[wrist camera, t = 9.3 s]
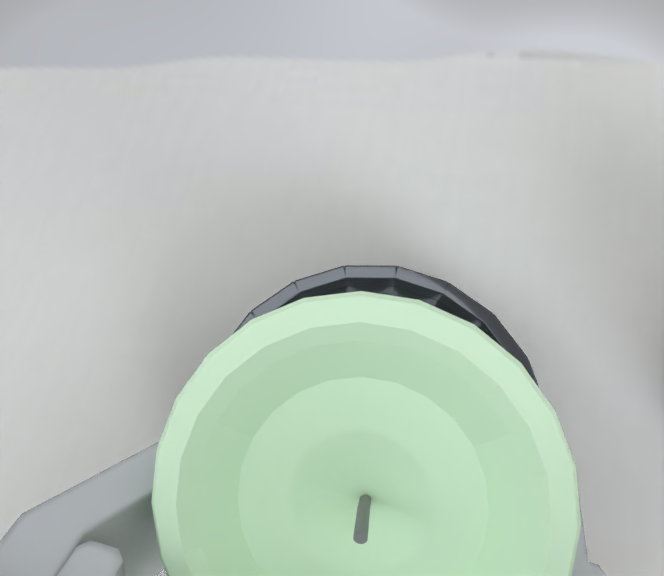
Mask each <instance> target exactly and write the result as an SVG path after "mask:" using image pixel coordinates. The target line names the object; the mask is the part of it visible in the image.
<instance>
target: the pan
mask: <svg viewBox="0 0 664 576" xmlns="http://www.w3.org/2000/svg"><path fill="white" fill-rule="evenodd" d="M357 291H365V292H371V293H378V294H384V295H391V296H397V297H404V298H410V299H417V300H421V301H423V302H425V303H428V304H430V305H432V306H434V307H436V308H439V309H441V310H443V311H445V312H448V313H450V314H452V315H454V316H457V317H459V318H461V319H463V320H465V321H468V322H470V323H472V324H474V325H476V326H477V327H478V328H479V329H480V330H482V331H483V332H484V333H485V334H487V335H488V336H489V337H490V338H491V339H493V340H494V341H495V342H496V343H498V344H499V345H500V346H501V347H502V348H504V349H505V350H506V351H507V352H508V353H510V354H511V355H512V356H513V357H515V358H516V359H517V360H518V361H519V362H521V363H522V365H523V366H524V368H525V369H526V370H527V372H528V373H529V375H530V376H531V378H532V379H533V380H534V382H535V383H536V385H537V386H538V383H537V381H536V378H535V375H534V373H533V370H532V367H531V365H530V362H529V360H528V358H527V356H526V355H525V353H524V352H523V351H522V350H521V348H520V347H519V346H518V344H517V343H516V342H515V341H514V339H513V338H512V337H511V335H510V334H509V333H508V332H507V330H506V329H505V328H504V326H503V325H502V324H501V323H500V321H499V320H498V319H497V317H496V316H495V315H494V314H493V313H492V312H490V311H489V310H488V309H486V308H485V307H483V306H482V305H480V304H479V303H478V302H476V301H475V300H473V299H472V298H470V297H469V296H468V295H466V294H465V293H463V292H462V291H460V290H459V289H458V288H456V287H455V286H453V285H452V284H450V283H448V282H447V281H443V280H440V279H437V278H434V277H431V276H428V275H425V274H422V273H418V272H415V271H412V270H409V269H406V268H403V267H400V266H347V265H346V266H341V267H338V268H334V269H331V270H328V271H325V272H322V273H318V274H315V275H312V276H309V277H305V278H302V279H299V280H296V281H295V282H292V283H290V284H289V285H288V286H286V287H285V288H283V289H282V290H280V291H279V292H277V293H276V294H275V295H273V296H272V297H270V298H269V299H267V300H266V301H264V302H263V303H262V304H260V305H259V306H257V307H256V308H254V309H253V310H252V311H251V312H250V313H249V314H248V315H247V316H246V318H245V319H244V320H243V321H242V323H241V324H240V325H239V327H238V328H237V329H236V330H235V332H236V331H238V330H239V329H240V328H242V327H243V326H244V325H245V324H247V323H248V322H249V321H250V320H252V319H254V318H256V317H259V316H261V315H264V314H266V313H269V312H271V311H273V310H276V309H278V308H281V307H283V306H285V305H288V304H290V303H293V302H295V301H297V300H300V299H302V298H307V297H315V296H323V295H332V294H340V293H349V292H357ZM235 332H234V333H235ZM234 333H233V334H234ZM233 334H232V335H233ZM538 387H539V386H538Z"/></svg>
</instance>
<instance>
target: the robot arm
mask: <svg viewBox="0 0 664 576" xmlns="http://www.w3.org/2000/svg"><path fill="white" fill-rule="evenodd" d="M159 442H160V441H159ZM159 442H158V443H156V444H154V445H152V446H150V447H148V448H146V449H144V450H142V451H140V452H139V453H137V454H135V455H133V456H131V457H129V458H127V459H125V460H123V461H121V462H120V463H118V464H116V465H114V466H112V467H110V468H108V469H106V470H104V471H102V472H101V473H99V474H97V475H95V476H93V477H91V478H89V479H87V480H85V481H83V482H82V483H80V484H78V485H76V486H74V487H72V488H70V489H68V490H66V491H64V492H63V493H61V494H59V495H57V496H55V497H53V498H51V499H49V500H47V501H46V502H44V503H42V504H40V505H38V506H36V507H34V508H32V509H30V510H28V511H27V512H25V513H23V514H21V516H20V517H19V518H18V519H17V521H16V522H15V523H14V524H13V526H12V527H11V528H10V529H9V531H8V532H7V533H6V534H5V536H4V537H3V538H2V539H1V541H0V576H156V575H157V574H158V573H160V572H161V571H162V570H163V569H165V568H164V565H163V563H162V561H161V558H160V556H159V549H158V543H157V536H156V530H155V523H154V517H153V510H152V504H151V501H152V491H153V481H154V471H155V462H156V452H157V447H158V444H159ZM579 505H580V501H579ZM580 518H581V530H580V535H579V540H578V545H577V550H576V556H575V561H574V566H573V571H572V576H606V575H605V573H604V572H603V571H602V569H601V568H600V566H599V565H596V564H593V563H590V562H588V556H587V549H586V542H585V535H584V528H583V522H582V515H581V508H580Z"/></svg>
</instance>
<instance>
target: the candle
mask: <svg viewBox="0 0 664 576" xmlns="http://www.w3.org/2000/svg"><path fill="white" fill-rule="evenodd" d="M151 504H152V510H153V517H154V523H155V530H156V536H157V543H158V549H159V556H160V558H161V561H162V563H163V565H164V568H165V570H166V573H167V575H168V576H572V571H573V566H574V561H575V556H576V550H577V545H578V540H579V535H580V530H581V518H580V505H579V493H578V481H577V468H576V465H575V463H574V460H573V457H572V454H571V452H570V449H569V446H568V443H567V441H566V438H565V435H564V433H563V430H562V427H561V424H560V422H559V419H558V416H557V413H556V411H555V410H554V408H553V407H552V406H551V404H550V403H549V401H548V400H547V399H546V397H545V396H544V394H543V393H542V392H541V390H540V389H539V387H538V386H537V385H536V383H535V382H534V380H533V379H532V378H531V376H530V375H529V373H528V372H527V370H526V369H525V368H524V366H523V365H522V363H521V362H519V361H518V360H517V359H516V358H515V357H513V356H512V355H511V354H510V353H508V352H507V351H506V350H505V349H504V348H502V347H501V346H500V345H499V344H498V343H496V342H495V341H494V340H493V339H491V338H490V337H489V336H488V335H487V334H485V333H484V332H483V331H482V330H480V329H479V328H478V327H477V326H476V325H474V324H472V323H470V322H468V321H465V320H463V319H461V318H459V317H457V316H454V315H452V314H450V313H448V312H445V311H443V310H441V309H439V308H436V307H434V306H432V305H430V304H428V303H425V302H423V301H421V300H417V299H410V298H404V297H397V296H391V295H384V294H378V293H371V292H365V291H357V292H349V293H340V294H332V295H323V296H315V297H307V298H302V299H300V300H297V301H295V302H293V303H290V304H288V305H285V306H283V307H281V308H278V309H276V310H273V311H271V312H269V313H266V314H264V315H261V316H259V317H256V318H254V319H252V320H250V321H249V322H248V323H247V324H245V325H244V326H243V327H242V328H240V329H239V330H238V331H236V332H235V333H234V334H233V335H231V336H230V337H229V338H228V339H226V340H225V341H224V342H223V343H221V344H220V345H219V346H217V347H216V348H215V349H214V350H212V351H211V352H210V353H209V354H208V355H207V356H206V357H205V359H204V360H203V362H202V363H201V364H200V366H199V367H198V368H197V370H196V371H195V373H194V374H193V375H192V377H191V378H190V379H189V381H188V382H187V384H186V385H185V386H184V388H183V389H182V390H181V392H180V393H179V395H178V396H177V397H176V399H175V402H174V405H173V407H172V410H171V413H170V415H169V418H168V420H167V423H166V426H165V428H164V431H163V434H162V436H161V439H160V442H159V444H158V447H157V452H156V462H155V471H154V481H153V491H152V501H151Z"/></svg>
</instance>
